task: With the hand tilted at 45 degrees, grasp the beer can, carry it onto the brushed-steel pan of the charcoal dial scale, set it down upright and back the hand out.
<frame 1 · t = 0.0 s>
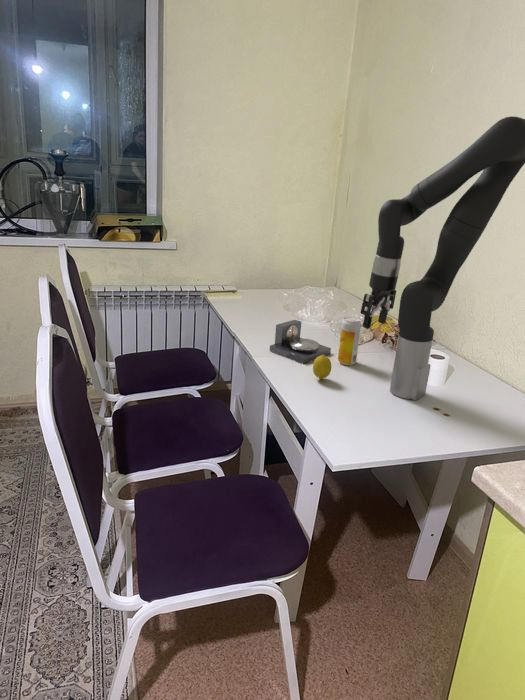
hand: (374, 325, 146), 17 cm above the table, tool pointing down, fingers open, 8 cm apart
scale: (300, 352, 171), on the table
pan: (304, 344, 169), point 3 cm above the table, slide at 0.8 cm
lemon: (320, 380, 150), on the table
beer can: (346, 363, 164), on the table
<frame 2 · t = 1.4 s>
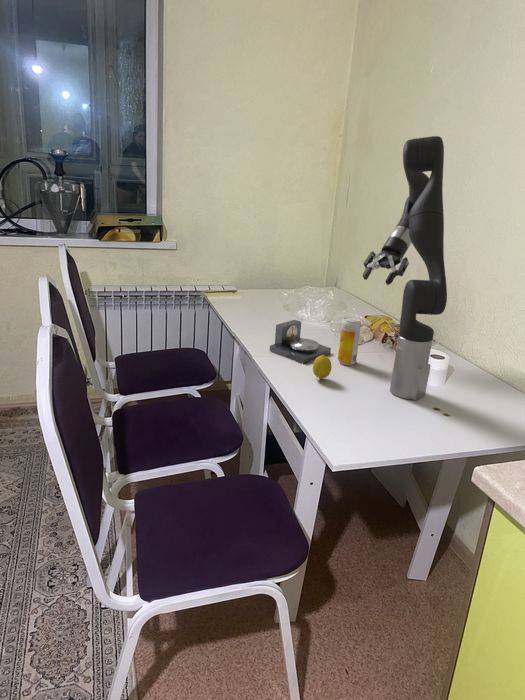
hand: (375, 280, 163), 26 cm above the table, tool tilted 45°, fingers open, 8 cm apart
nothing on the table moved.
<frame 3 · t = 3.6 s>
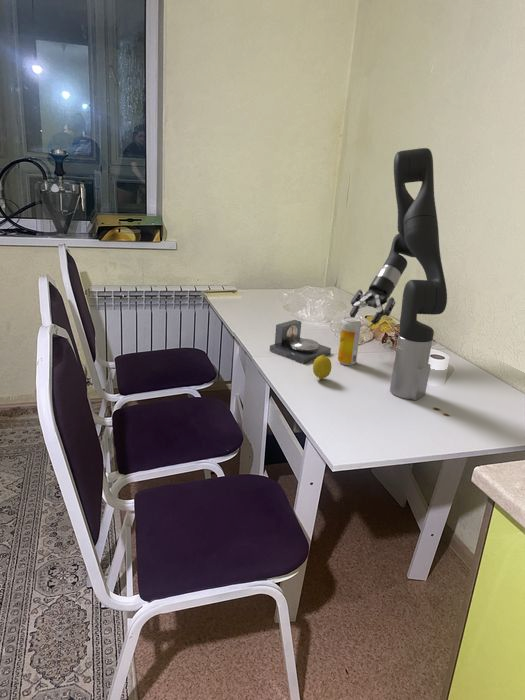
hand: (362, 320, 163), 14 cm above the table, tool tilted 45°, fingers open, 8 cm apart
nothing on the table moved.
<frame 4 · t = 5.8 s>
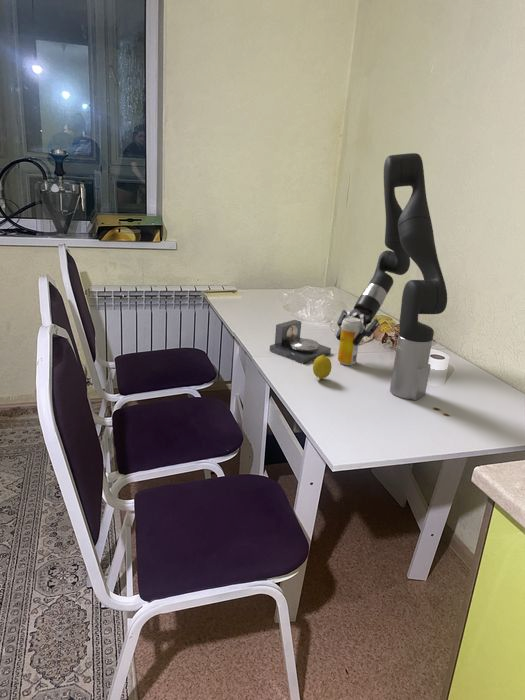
hand: (346, 341, 160), 8 cm above the table, tool tilted 45°, fingers closed on beer can, 6 cm apart
beer can: (346, 363, 164), on the table, touching gripper
everything else where it was.
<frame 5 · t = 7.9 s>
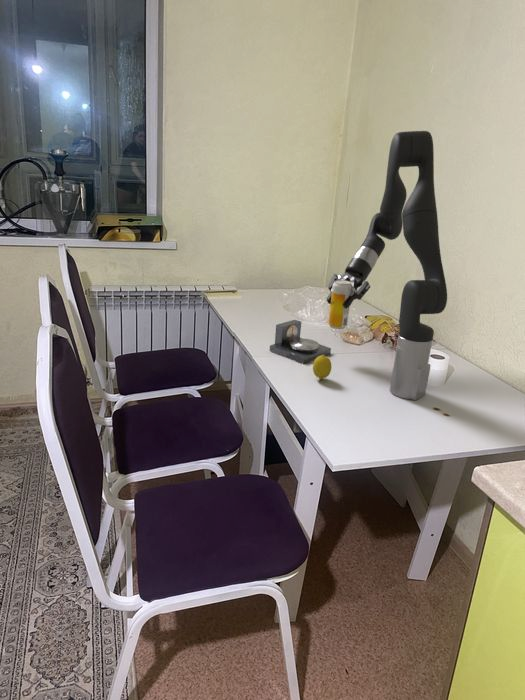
hand: (336, 304, 158), 19 cm above the table, tool tilted 45°, fingers closed on beer can, 6 cm apart
beer can: (337, 327, 162), point 11 cm above the table, touching gripper
everything else where it was.
when the fingers open (14 cm above the table, at t = 10.3 s): beer can drops 2 cm, resting on pan.
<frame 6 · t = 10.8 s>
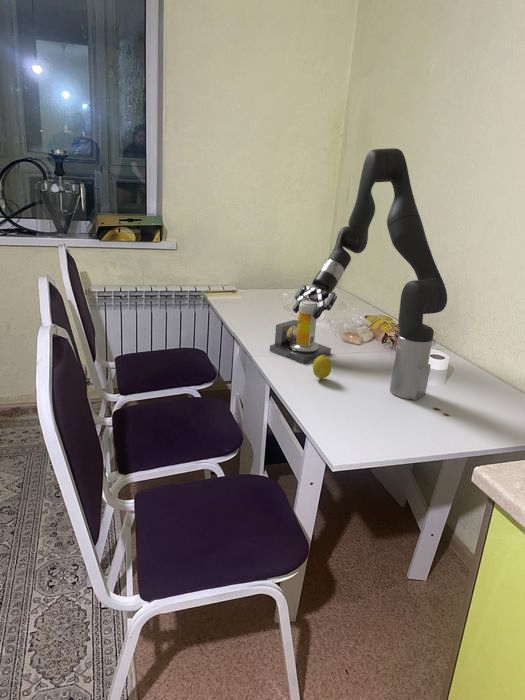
hand: (304, 314, 164), 14 cm above the table, tool tilted 45°, fingers open, 8 cm apart
pan: (304, 345, 169), point 3 cm above the table, slide at 1.2 cm, touching beer can
beer can: (304, 345, 169), point 3 cm above the table, touching pan
everything else where it was.
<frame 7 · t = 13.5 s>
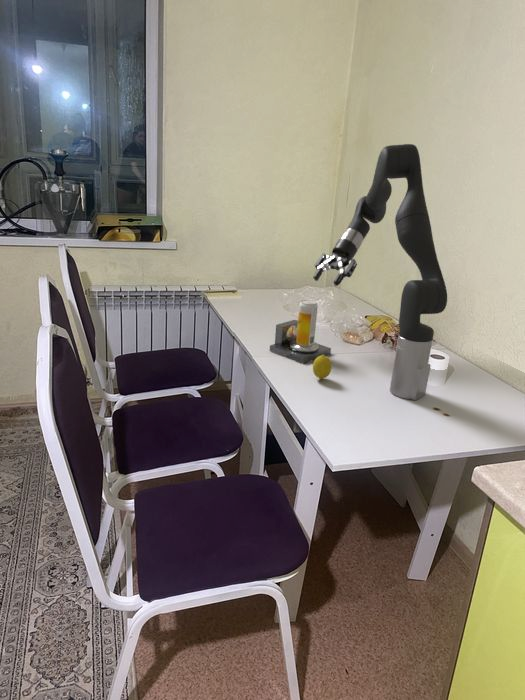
hand: (325, 281, 167), 24 cm above the table, tool tilted 45°, fingers open, 8 cm apart
nothing on the table moved.
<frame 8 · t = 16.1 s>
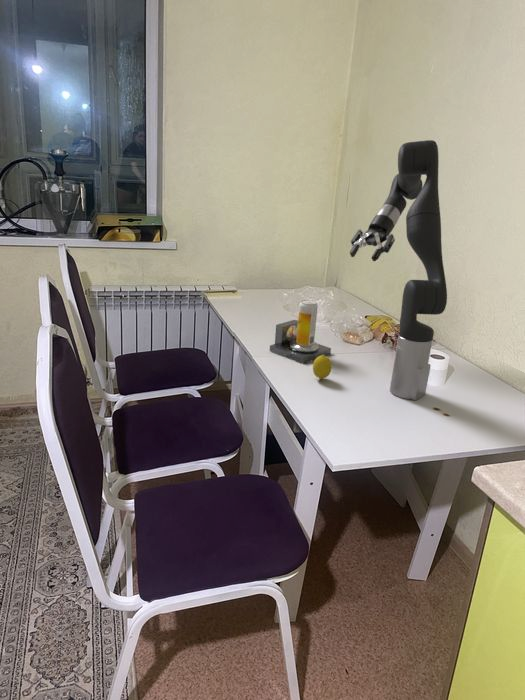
hand: (362, 257, 166), 33 cm above the table, tool tilted 45°, fingers open, 8 cm apart
nothing on the table moved.
at the end: beer can inside the target area on the scale (0.3 cm from its centre), point 3.1 cm above the scale's base; beer can tilted 0°; beer can touching pan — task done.
